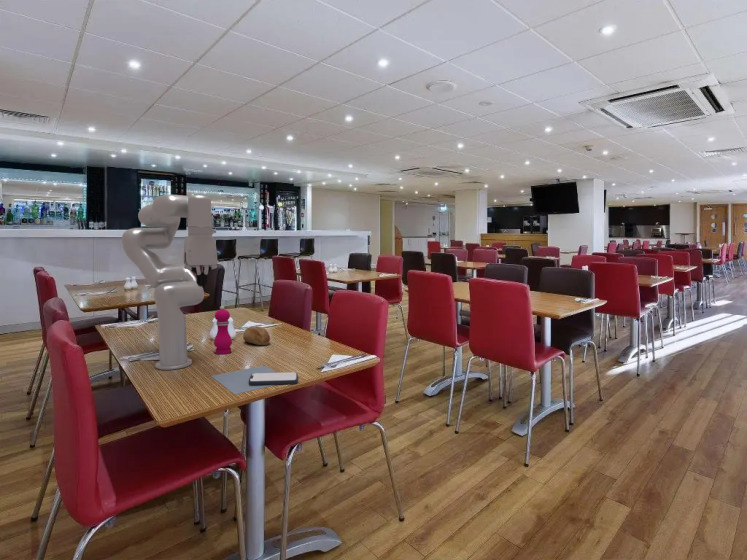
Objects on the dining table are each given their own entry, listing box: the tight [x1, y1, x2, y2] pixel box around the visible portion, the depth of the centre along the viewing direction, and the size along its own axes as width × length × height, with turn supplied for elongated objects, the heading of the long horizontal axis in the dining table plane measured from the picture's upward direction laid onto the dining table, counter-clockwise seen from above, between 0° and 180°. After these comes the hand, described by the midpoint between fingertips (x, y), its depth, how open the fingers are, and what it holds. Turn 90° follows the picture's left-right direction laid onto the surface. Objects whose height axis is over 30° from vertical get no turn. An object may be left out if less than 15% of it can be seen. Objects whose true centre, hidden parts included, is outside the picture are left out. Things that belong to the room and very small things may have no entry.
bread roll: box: [242, 325, 271, 346], centre depth 194 cm, size 10×15×8 cm, turn 53°
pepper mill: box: [213, 305, 233, 356], centre depth 178 cm, size 7×7×20 cm
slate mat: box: [211, 365, 279, 395], centre depth 147 cm, size 22×20×1 cm
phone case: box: [249, 371, 299, 385], centre depth 145 cm, size 9×2×16 cm
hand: (201, 285), depth 145 cm, fingers closed
